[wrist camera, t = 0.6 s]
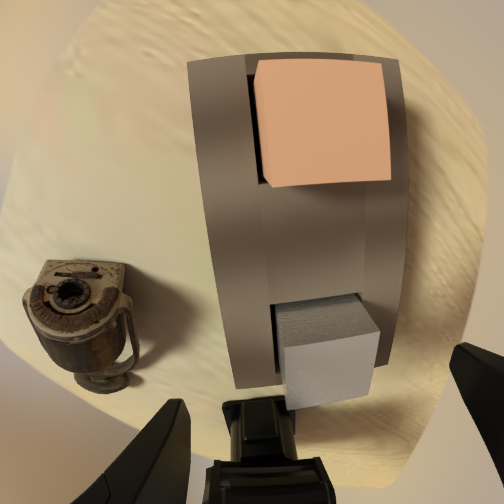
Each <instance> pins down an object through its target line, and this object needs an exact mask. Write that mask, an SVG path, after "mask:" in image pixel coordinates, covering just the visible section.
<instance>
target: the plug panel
mask: <svg viewBox="0 0 504 504" xmlns="http://www.w3.org/2000/svg"><path fill="white" fill-rule="evenodd" d="M274 59H333V60H350V61H362V62H372V63H381V66H382V72H383V79H384V87H385V95H386V104H387V114H388V125H389V139H390V159H391V180H377V181H355V182H337V183H322V184H308V185H296V186H284V187H274V188H272V186H271V185H270V184H269V183H268V181H267V180H266V179H265V177H264V176H263V175H262V173H258V174H257V168H256V158H255V149H254V139H253V130H252V121H251V111H250V102H249V93H253V88H252V87H253V83H254V78H255V74H256V70H257V66H258V62H259V60H274ZM187 70H188V80H189V91H190V100H191V110H192V119H193V128H194V136H195V145H196V153H197V161H198V169H199V176H200V184H201V191H202V198H203V205H204V212H205V219H206V225H207V232H208V238H209V245H210V251H211V257H212V263H213V269H214V275H215V281H216V287H217V293H218V299H219V304H220V310H221V315H222V321H223V326H224V331H225V337H226V342H227V347H228V352H229V357H230V362H231V367H232V372H233V377H234V382H235V386H236V389H245V388H256V387H265V386H274V385H282V378H281V372H280V366H279V361H278V355H277V344H276V330H275V327H271V315H270V304H278V303H286V302H294V301H302V300H309V299H316V298H323V297H330V296H337V295H344V294H350V293H354V294H355V295H356V297H357V298H358V299H359V301H360V302H361V304H362V305H363V307H364V308H365V309H366V311H367V312H368V314H369V315H370V317H371V318H372V320H373V321H374V323H375V324H376V325H377V327H378V328H379V330H380V336H379V342H378V348H377V353H376V359H375V364H374V368H375V367H379V366H383V365H387V364H388V361H389V357H390V352H391V348H392V343H393V338H394V332H395V327H396V321H397V316H398V309H399V303H400V296H401V289H402V281H403V272H404V263H405V252H406V240H407V223H408V187H409V179H408V144H407V128H406V115H405V105H404V96H403V88H402V81H401V74H400V67H399V61H398V60H396V59H390V58H382V57H375V56H366V55H355V54H343V53H323V52H278V53H258V54H245V55H234V56H225V57H217V58H210V59H203V60H197V61H191V62H187Z"/></svg>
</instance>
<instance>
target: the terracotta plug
mask: <svg viewBox="0 0 504 504" xmlns="http://www.w3.org/2000/svg"><path fill="white" fill-rule="evenodd" d="M252 88H253V96H254V105H255V115H256V124H257V133H258V143H259V152H260V162H261V172H262V175H263V176H264V177H265V179H266V180H267V181H268V183H269V184H270V185H271V186H272V188H274V187H284V186H296V185H308V184H322V183H337V182H355V181H377V180H391V159H390V139H389V125H388V114H387V104H386V95H385V87H384V79H383V72H382V66H381V63H372V62H362V61H350V60H333V59H274V60H259V62H258V66H257V70H256V74H255V78H254V83H253V87H252Z"/></svg>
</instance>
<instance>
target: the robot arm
mask: <svg viewBox="0 0 504 504" xmlns="http://www.w3.org/2000/svg"><path fill="white" fill-rule="evenodd" d="M449 367H450V371H451V373H452V375H453V377H454V380H455V382H456V384H457V387H458V389H459V391H460V394H461V396H462V399H463V401H464V403H465V405H466V407H467V409H468V411H469V413H470V414H471V416H472V418H473V420H474V422H475V424H476V426H477V428H478V430H479V432H480V434H481V436H482V438H483V440H484V442H485V445H486V446H487V449H488V451H489V453H490V455H491V458H492V460H493V462H494V464H495V467H496V469H497V472H498V474H499V476H500V479H501V481H502V484H503V487H504V357H503V356H500V355H497V354H495V353H492V352H490V351H487V350H485V349H482V348H479V347H477V346H474V345H472V344H469V343H467V342H463V343H460V344H458V345H456V346H455V347H454V350H453V353H452V356H451V360H450V363H449ZM222 410H223V414H224V417H225V420H226V424H227V427H228V430H229V434H230V437H231V461H221V460H214V466H212V467H210V468H207V469H206V483H205V490H204V496H203V502H202V504H336V496H335V491H334V488H333V486H332V483H331V481H330V479H329V477H328V474H327V472H326V470H325V468H324V465H323V463H322V461H321V459H320V457H313V458H311V459H300V460H298V457H297V451H296V445H295V440H294V435H295V409H293V410H287V407H286V401H285V396H283V397H275V398H266V399H257V400H246V401H233V402H224V403H223V404H222ZM190 463H191V419H190V415H189V412H188V410H187V407H186V405H185V403H184V401H183V399H180V398H178V399H169V400H168V401H167V402H166V403H165V404H164V405H163V406H162V407H161V409H160V410H159V411H158V412H157V413H156V414H155V415H154V417H153V418H152V419H151V420H150V421H149V422H148V423H147V425H146V426H145V427H144V428H143V429H142V430H141V431H140V432H139V434H138V435H137V436H136V437H135V438H134V439H133V440H132V442H131V443H130V444H129V445H128V446H127V447H126V448H125V449H124V450H123V451H122V453H121V454H120V455H119V456H118V457H117V458H116V459H115V460H114V462H112V464H111V465H110V466H109V467H108V468H107V469H106V470H105V471H104V473H102V474H101V475H100V476H99V477H98V478H97V480H96V481H95V482H94V483H93V484H92V485H91V486H90V487H89V488H88V489H87V490H86V491H84V492H83V493H82V494H81V495H80V496H79V497H78V498H76V499H75V500H74V501H73V502H72V503H70V504H186V499H187V489H188V482H189V473H190Z"/></svg>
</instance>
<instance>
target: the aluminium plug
mask: <svg viewBox="0 0 504 504" xmlns="http://www.w3.org/2000/svg"><path fill="white" fill-rule="evenodd" d="M273 305H274V317H275V330H276V344H277V355H278V361H279V366H280V372H281V378H282V384H283V389H284V395H285V401H286V407H287V410H293V409H300V408H306V407H312V406H318V405H324V404H329V403H334V402H339V401H344V400H348V399H353V398H357V397H361V396H366V395H368V392H369V388H370V383H371V379H372V374H373V369H374V364H375V359H376V353H377V348H378V342H379V336H380V330H379V328H378V327H377V325H376V324H375V323H374V321H373V320H372V318H371V317H370V315H369V314H368V312H367V311H366V309H365V308H364V307H363V305H362V304H361V302H360V301H359V299H358V298H357V297H356V295H355V294H354V293H350V294H344V295H337V296H330V297H323V298H316V299H309V300H302V301H294V302H286V303H278V304H273Z"/></svg>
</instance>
